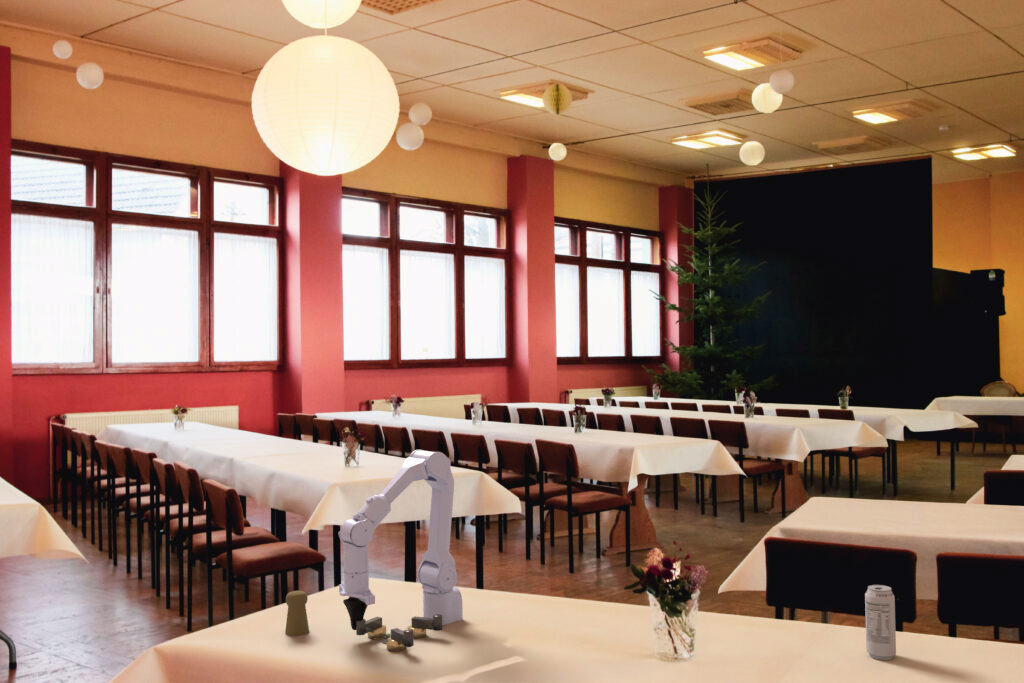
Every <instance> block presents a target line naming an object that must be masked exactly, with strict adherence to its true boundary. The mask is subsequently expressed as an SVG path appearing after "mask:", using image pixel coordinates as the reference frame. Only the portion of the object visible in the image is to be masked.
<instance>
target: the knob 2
mask: <svg viewBox="0 0 1024 683" xmlns="http://www.w3.org/2000/svg"><path fill="white" fill-rule="evenodd" d="M390 632H391V637H390V638H388V639H387V644H386V650H387V651H389V652H401V651H404V650H406V648H410V647H411V648H412V647H414V640H415V638H414V634H413V630H408V629H405V630H403V629H400V628H399V627H396V628H392V629H390Z"/></svg>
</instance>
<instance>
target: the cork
mask: <svg viewBox="0 0 1024 683" xmlns="http://www.w3.org/2000/svg"><path fill="white" fill-rule="evenodd" d="M308 598H309V597H308V594H307V592H306V591H304V590H292V591H290V592H288V593H287V594H286V596H285V604H286V605H287V614H286V623H285V630H284V631H285V632H284V634H285V635H287V636H289V637H290V636H291V637H297V636H299V637H300V636H305V635H307V634H309V633H310V628H309V621H308V614H307V609H306V608H307V607H306V604H307V603H308Z"/></svg>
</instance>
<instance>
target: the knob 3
mask: <svg viewBox="0 0 1024 683" xmlns="http://www.w3.org/2000/svg"><path fill="white" fill-rule="evenodd" d="M407 630H413V634H414V639H422V638H425V637H426V636H427V630H431V631H436V632H441V631H442V630H443V625H442V615H440V614H436V615H433V618H425V617H424V616H417V615H416V616H413V617H411V624H410V625H408V626H407Z"/></svg>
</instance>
